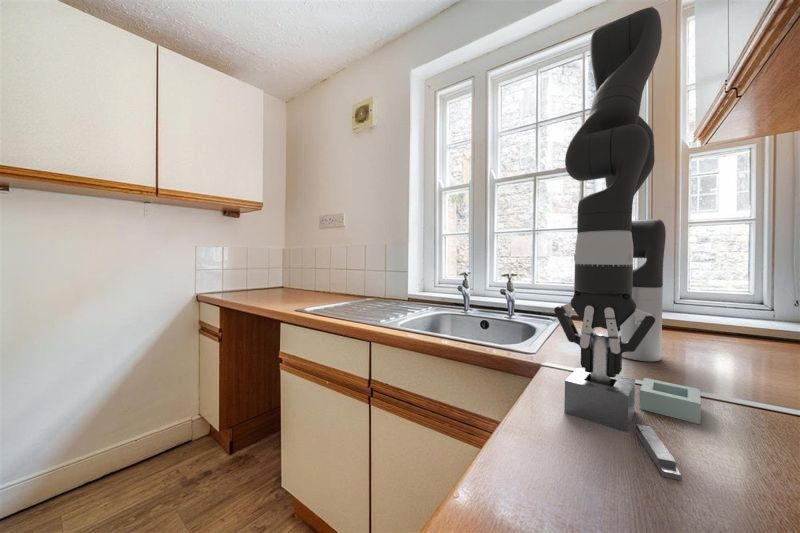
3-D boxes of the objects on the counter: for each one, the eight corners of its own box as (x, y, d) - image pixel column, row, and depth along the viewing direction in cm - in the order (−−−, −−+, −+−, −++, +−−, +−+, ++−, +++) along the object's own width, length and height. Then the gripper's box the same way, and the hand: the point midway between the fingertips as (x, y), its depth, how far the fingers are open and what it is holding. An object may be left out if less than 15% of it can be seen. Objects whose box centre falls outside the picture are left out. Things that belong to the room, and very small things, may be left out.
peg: (591, 406, 51) (593, 332, 51) (611, 411, 49) (612, 335, 49) (588, 412, 49) (589, 335, 49) (608, 417, 47) (609, 338, 47)
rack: (643, 394, 55) (644, 377, 55) (698, 407, 51) (699, 389, 50) (639, 408, 50) (640, 390, 50) (700, 424, 45) (701, 403, 45)
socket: (577, 395, 55) (578, 367, 55) (634, 411, 49) (635, 379, 49) (564, 412, 49) (564, 380, 49) (627, 431, 43) (628, 395, 43)
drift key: (635, 432, 43) (636, 424, 43) (650, 435, 43) (650, 426, 43) (663, 476, 34) (663, 465, 34) (681, 480, 34) (681, 469, 34)
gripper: (663, 262, 47) (660, 378, 47) (560, 261, 56) (559, 358, 56) (660, 263, 41) (656, 394, 41) (547, 261, 50) (545, 369, 51)
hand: (600, 372), depth 49 cm, fingers closed on peg, 2 cm apart
